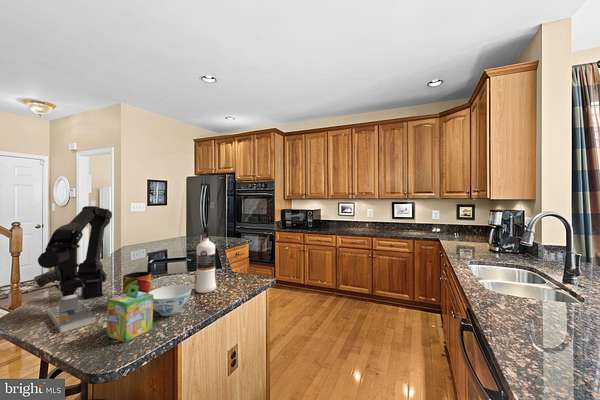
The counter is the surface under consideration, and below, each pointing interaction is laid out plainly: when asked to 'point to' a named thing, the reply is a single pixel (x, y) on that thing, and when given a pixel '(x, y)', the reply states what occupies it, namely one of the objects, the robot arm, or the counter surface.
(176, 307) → the chinaware
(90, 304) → the counter surface
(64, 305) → the fader tab
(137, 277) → the mug
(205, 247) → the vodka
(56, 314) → the console
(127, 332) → the chalk box
